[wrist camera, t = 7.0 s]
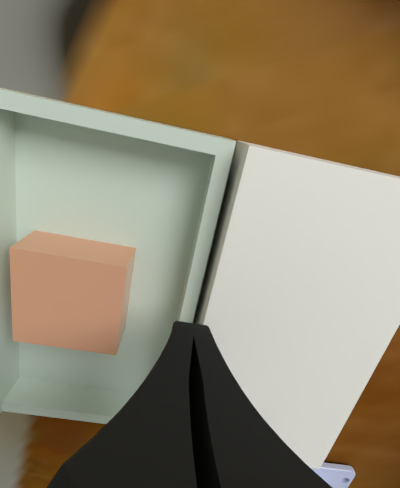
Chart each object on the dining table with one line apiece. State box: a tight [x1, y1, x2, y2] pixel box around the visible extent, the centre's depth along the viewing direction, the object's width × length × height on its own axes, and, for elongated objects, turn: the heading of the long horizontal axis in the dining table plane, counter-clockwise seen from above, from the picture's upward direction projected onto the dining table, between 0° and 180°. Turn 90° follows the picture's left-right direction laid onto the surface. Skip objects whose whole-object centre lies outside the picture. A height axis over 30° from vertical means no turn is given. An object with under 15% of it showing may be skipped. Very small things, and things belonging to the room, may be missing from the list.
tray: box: [0, 88, 236, 424], centre depth 13 cm, size 15×9×3 cm, turn 168°
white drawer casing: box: [193, 140, 400, 469], centre depth 14 cm, size 15×8×3 cm, turn 168°
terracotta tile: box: [9, 230, 136, 355], centre depth 13 cm, size 4×4×2 cm
